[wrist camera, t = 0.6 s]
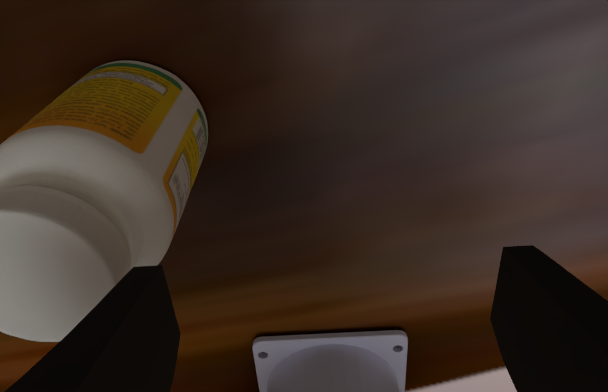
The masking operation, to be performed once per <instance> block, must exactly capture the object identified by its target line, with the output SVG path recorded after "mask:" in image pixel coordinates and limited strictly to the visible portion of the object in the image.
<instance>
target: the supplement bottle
mask: <svg viewBox="0 0 608 392" xmlns="http://www.w3.org/2000/svg"><path fill="white" fill-rule="evenodd" d="M207 142H208V124H207V120H206V116H205V113H204V110H203V108H202V106H201V104H200V102H199V100H198V99H197V97H196V96H195V94H194V93H193V92H192V90H191V89H190V88H189V87H188V86H187V85H186V84H185V83H184V82H183V81H181V80H180V79H179V78H178V77H177V76H175V75H174V74H172V73H170V72H168V71H166V70H164V69H162V68H160V67H158V66H154V65H151V64H148V63H144V62H140V61H130V60H123V61H114V62H110V63H106V64H103V65H101V66H99V67H97V68H95V69H93V70H92V71H90V72H89V73H87V74H86V75H85V76H83V77H82V78H81V79H80V80H78V81H77V82H76V83H75V84H73V85H72V86H71V87H70V88H68V89H67V90H66V91H65V92H64V93H62V94H61V95H60V96H59V97H57V98H56V99H55V100H54V101H53V102H51V103H50V104H49V105H48V106H47V107H46V108H44V109H43V110H42V111H41V112H39V113H38V114H37V115H36V116H35V117H33V118H32V119H31V120H30V121H29V122H28V123H26V124H25V125H24V126H23V127H21V128H20V129H19V130H18V131H16V132H15V133H14V134H13V135H11V136H10V137H9V138H8V139H6V140H5V141H4V142H3V143H2V144H1V145H0V332H3V333H5V334H8V335H11V336H15V337H19V338H22V339H26V340H32V341H39V342H60V341H61V340H62V339H63V338H64V337H65V336H66V335H67V334H68V333H69V332H70V331H71V330H72V329H73V328H74V327H75V326H76V325H77V324H78V323H79V322H80V321H81V320H82V319H83V318H84V317H85V316H86V315H87V314H88V313H89V312H90V311H91V310H92V309H93V308H94V307H95V306H96V305H97V304H98V303H99V302H100V301H101V300H102V299H103V298H104V297H105V296H106V295H107V294H108V293H109V292H110V290H111V289H112V288H113V287H114V286H115V285H116V284H117V283H118V282H119V281H120V280H121V279H122V278H123V277H124V276H125V275H126V274H127V273H128V272H129V271H130V270H131V269H132V268H133V267H138V266H157V265H158V264H159V263H160V261H161V260H162V258H163V257H164V255H165V253H166V252H167V250H168V248H169V246H170V243H171V240H172V238H173V236H174V234H175V231H176V228H177V226H178V223H179V221H180V218H181V215H182V213H183V210H184V207H185V205H186V202H187V199H188V196H189V194H190V191H191V188H192V186H193V183H194V181H195V178H196V176H197V173H198V171H199V168H200V166H201V163H202V160H203V158H204V155H205V151H206V148H207Z"/></svg>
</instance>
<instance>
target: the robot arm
mask: <svg viewBox="0 0 608 392" xmlns="http://www.w3.org/2000/svg"><path fill="white" fill-rule="evenodd" d="M490 319H491V322H492V326H493V329H494V332H495V336H496V339H497V342H498V346H499V349H500V352H501V355H502V358H503V361H504V363H505V366H506V368H507V370H508V372H509V375H510V377H511V379H512V381H513V383H514V386H515V388H516V390H517V392H608V301H607V300H605V299H604V298H603V297H601V296H600V295H599V294H597V293H596V292H595V291H593V290H592V289H591V288H589V287H588V286H587V285H585V284H584V283H583V282H581V281H580V280H579V279H577V278H576V277H575V276H573V275H572V274H571V273H569V272H568V271H567V270H565V269H564V268H563V267H562V266H560V265H559V264H558V263H556V262H555V261H554V260H552V259H551V258H550V257H548V256H547V255H546V254H544V253H543V252H541V251H540V250H539V249H537V248H536V247H534V246H533V245H532V246H513V247H503V251H502V256H501V262H500V268H499V273H498V279H497V284H496V290H495V295H494V301H493V306H492V312H491V317H490ZM179 339H180V331H179V327H178V323H177V320H176V316H175V312H174V308H173V305H172V301H171V297H170V294H169V290H168V286H167V282H166V279H165V275H164V271H163V267H162V265H157V266H138V267H133V268H132V269H131V270H130V271H129V272H128V273H127V274H126V275H125V276H124V277H123V278H122V279H121V280H120V281H119V282H118V283H117V284H116V285H115V286H114V287H113V288H112V289H111V290H110V292H109V293H108V294H107V295H106V296H105V297H104V298H103V299H102V300H101V301H100V302H99V303H98V304H97V305H96V306H95V307H94V308H93V309H92V310H91V311H90V312H89V313H88V314H87V315H86V316H85V317H84V318H83V319H82V320H81V321H80V322H79V323H78V324H77V325H76V326H75V327H74V328H73V329H72V330H71V331H70V332H69V333H68V334H67V335H66V336H65V337H64V338H63V339H62V340H61V341H60V342H59V343H58V344H57V345H56V346H55V347H54V348H53V349H52V350H50V351H49V352H48V353H47V354H46V355H45V356H44V357H43V358H42V359H41V360H40V361H39V362H37V363H36V364H35V365H34V366H33V367H32V368H31V369H30V370H29V371H28V372H27V373H26V374H25V375H23V376H22V377H21V378H20V379H19V380H18V381H17V382H15V383H14V384H13V385H12V386H11V387H10V388H8V389H7V390H6V391H5V392H169V391H170V388H171V384H172V381H173V376H174V370H175V365H176V359H177V353H178V346H179ZM397 345H400V346H397ZM407 348H408V339H407V335H406V333H405V332H404V331H402V330H387V331H366V332H346V333H326V334H305V335H285V336H265V337H258V338H256V339H255V340H254V341H253V347H252V349H253V355H254V361H255V367H256V373H257V379H258V385H259V391H260V392H405V378H406V363H407ZM261 352H266V353H261Z"/></svg>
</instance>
